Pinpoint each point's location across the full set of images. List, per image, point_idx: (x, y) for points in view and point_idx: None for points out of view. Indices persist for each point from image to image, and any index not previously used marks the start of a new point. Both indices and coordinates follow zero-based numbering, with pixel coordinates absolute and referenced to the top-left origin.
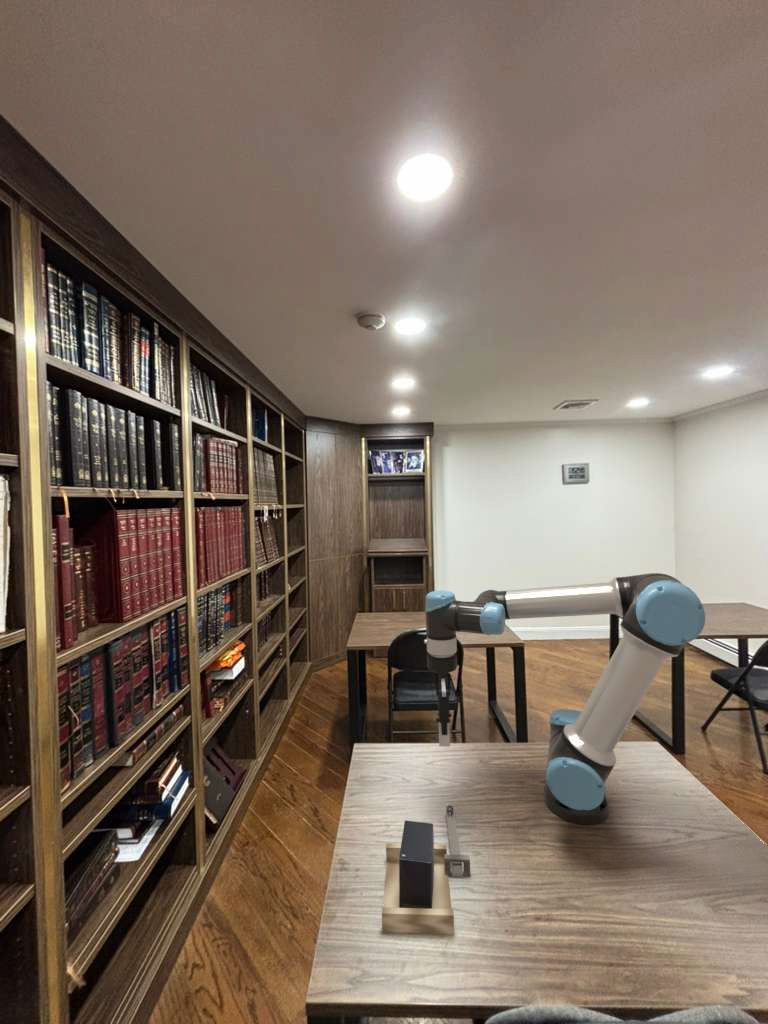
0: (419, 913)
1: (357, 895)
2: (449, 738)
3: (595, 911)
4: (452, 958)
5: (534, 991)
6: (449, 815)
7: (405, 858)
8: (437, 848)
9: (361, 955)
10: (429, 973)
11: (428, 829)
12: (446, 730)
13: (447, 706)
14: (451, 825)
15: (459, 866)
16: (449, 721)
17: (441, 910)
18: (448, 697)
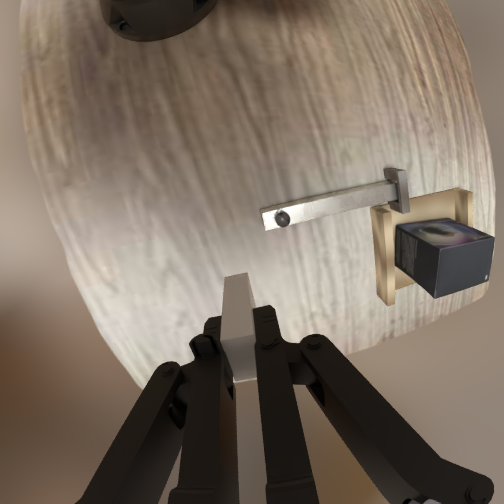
0: None
1: (423, 305)
2: (249, 288)
3: (390, 14)
4: (473, 188)
5: (480, 111)
6: (293, 217)
7: (489, 272)
8: (392, 227)
9: None
10: (482, 210)
11: (452, 254)
12: (277, 320)
13: (395, 416)
14: (321, 209)
15: None
16: (320, 338)
17: (468, 207)
18: (446, 463)
